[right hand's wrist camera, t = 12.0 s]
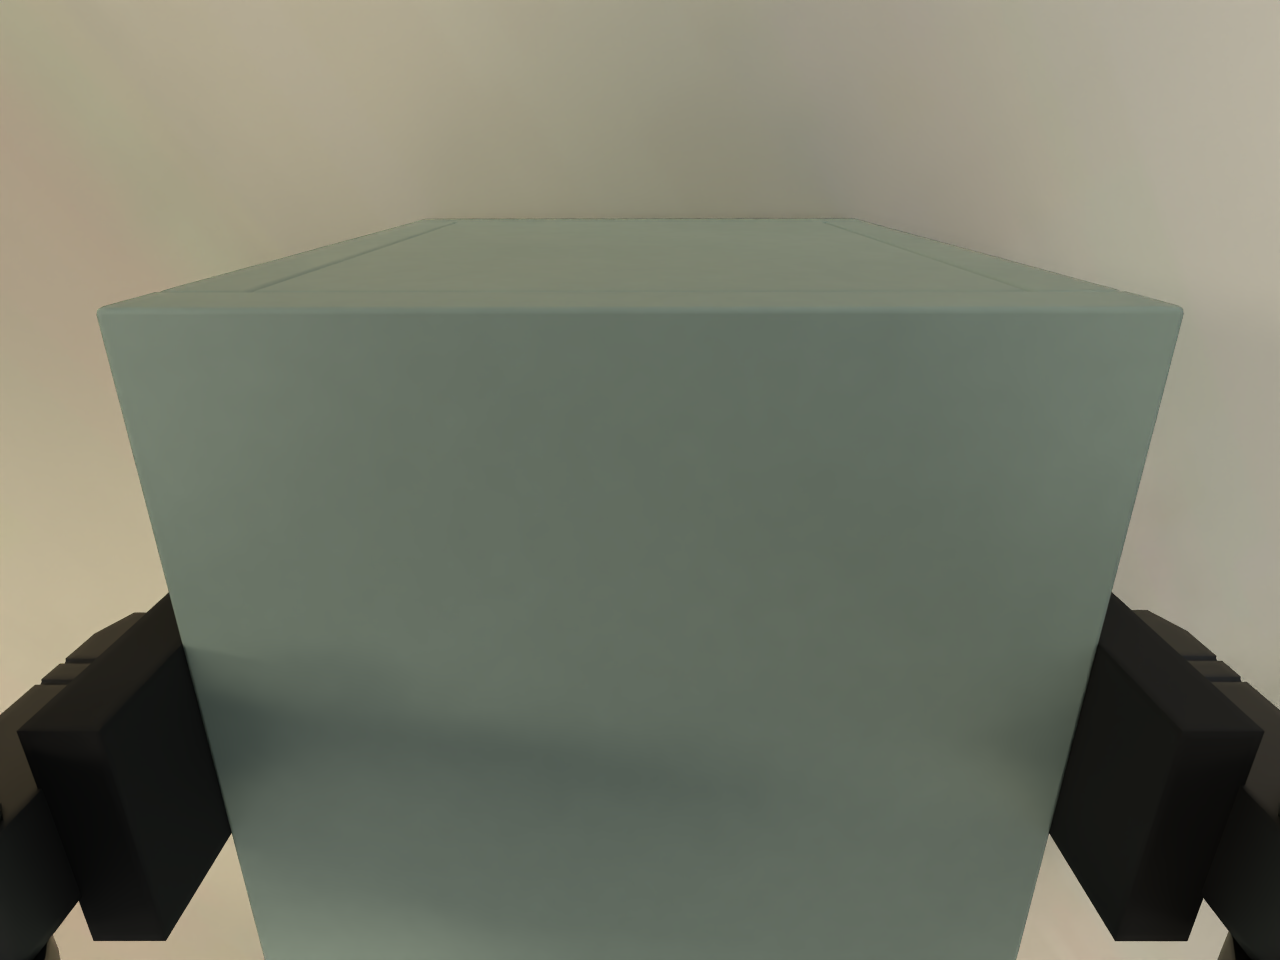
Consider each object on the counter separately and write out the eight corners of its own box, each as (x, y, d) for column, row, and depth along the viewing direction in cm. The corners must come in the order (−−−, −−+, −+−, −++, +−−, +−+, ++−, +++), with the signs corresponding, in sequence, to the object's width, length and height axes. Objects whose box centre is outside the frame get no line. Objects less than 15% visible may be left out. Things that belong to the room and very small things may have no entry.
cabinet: (793, 859, 25) (908, 1382, 14) (487, 859, 25) (373, 1382, 14) (856, 218, 18) (1190, 305, 7) (423, 218, 18) (90, 307, 7)
